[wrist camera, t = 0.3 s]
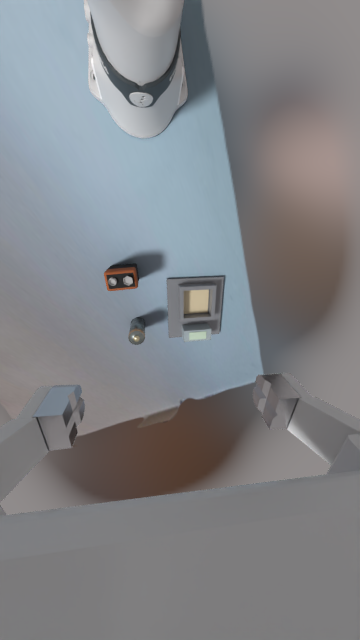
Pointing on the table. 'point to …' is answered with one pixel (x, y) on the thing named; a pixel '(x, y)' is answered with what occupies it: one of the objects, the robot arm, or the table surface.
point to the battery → (121, 277)
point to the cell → (137, 331)
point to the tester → (194, 307)
